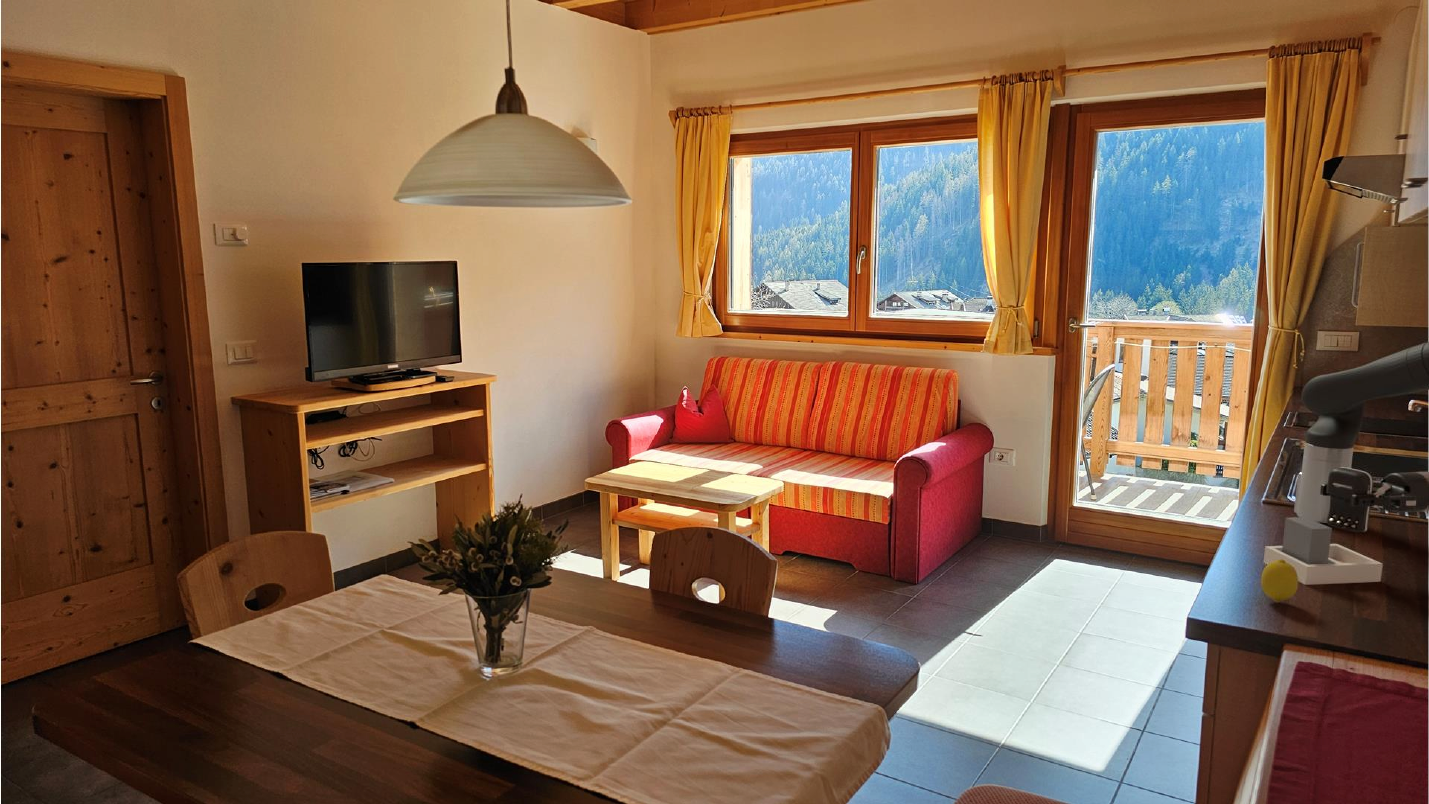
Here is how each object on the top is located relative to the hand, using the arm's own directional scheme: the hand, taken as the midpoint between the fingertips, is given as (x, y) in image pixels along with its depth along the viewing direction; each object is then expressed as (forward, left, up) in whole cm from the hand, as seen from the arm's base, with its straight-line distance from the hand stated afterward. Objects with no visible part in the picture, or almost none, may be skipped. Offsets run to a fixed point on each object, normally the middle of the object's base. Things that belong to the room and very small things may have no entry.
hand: (1337, 495), depth 178 cm
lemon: (+13, -20, -16) cm, 28 cm away
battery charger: (0, +2, -7) cm, 7 cm away
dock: (0, -1, -15) cm, 15 cm away
